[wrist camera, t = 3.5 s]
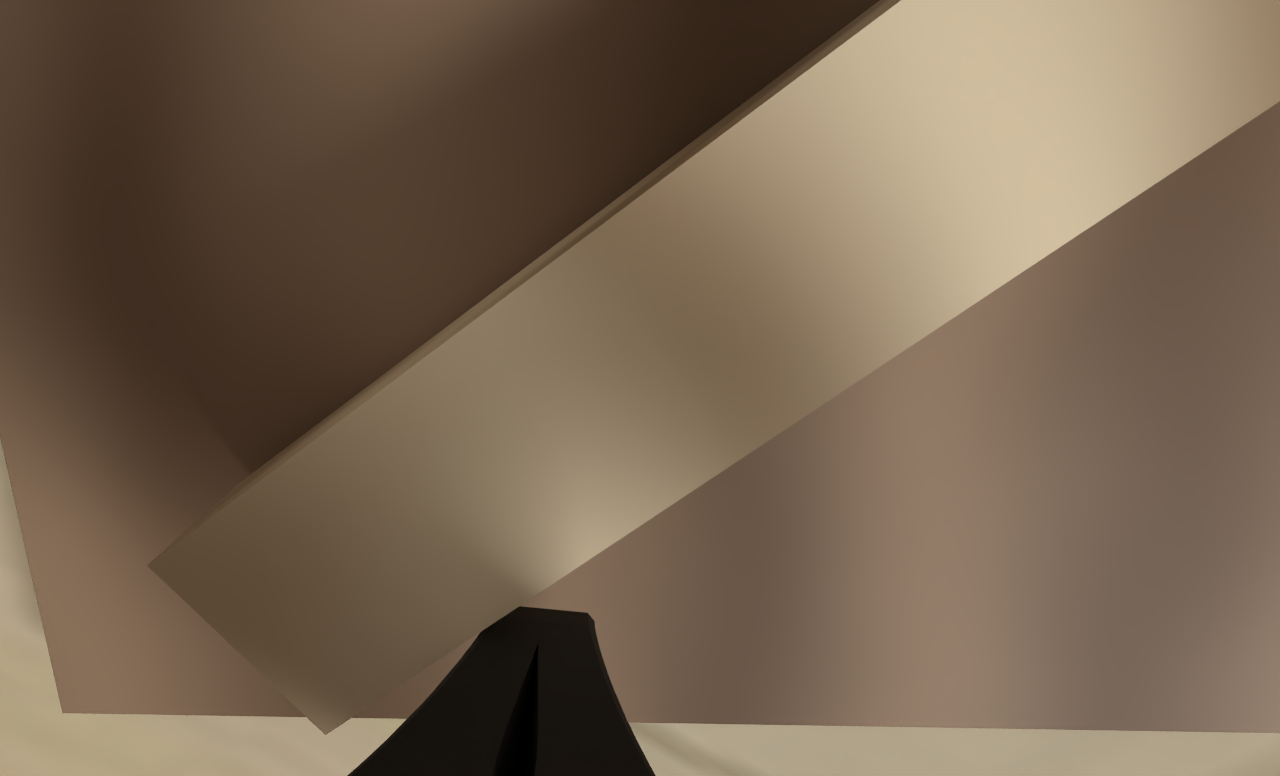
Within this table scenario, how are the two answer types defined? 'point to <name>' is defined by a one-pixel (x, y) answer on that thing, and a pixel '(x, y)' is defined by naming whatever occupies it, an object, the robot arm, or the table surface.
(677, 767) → the table surface
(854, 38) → the wooden link
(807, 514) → the walnut board
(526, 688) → the robot arm
